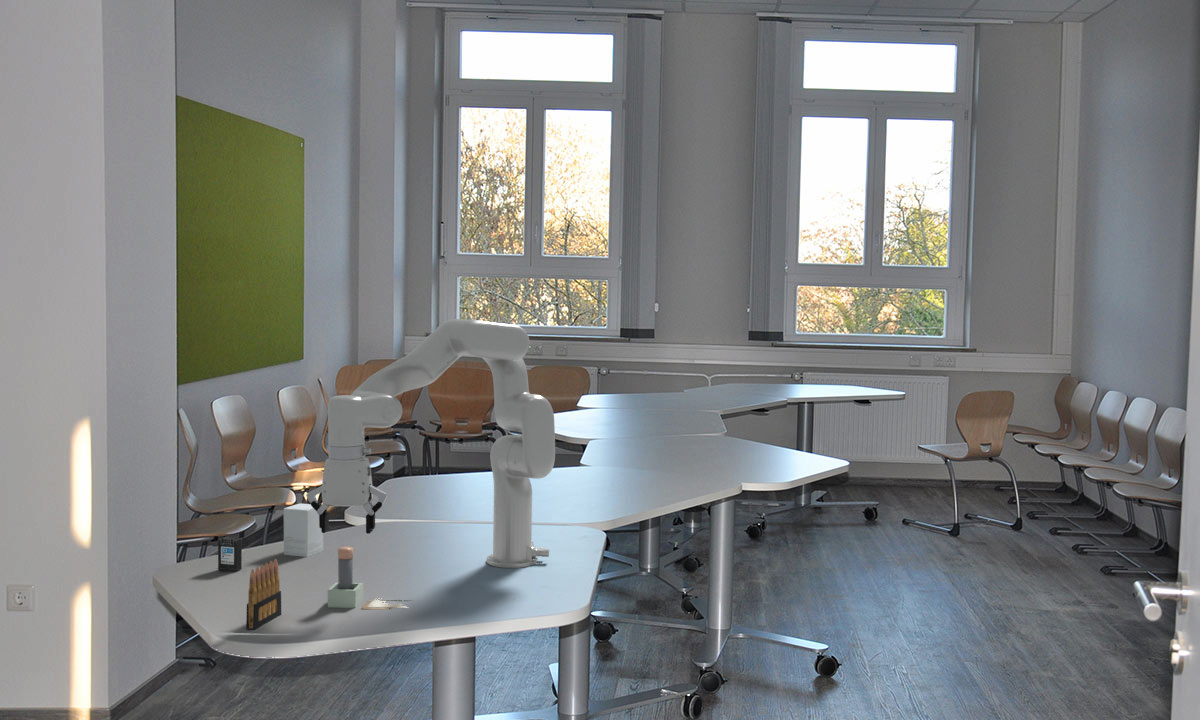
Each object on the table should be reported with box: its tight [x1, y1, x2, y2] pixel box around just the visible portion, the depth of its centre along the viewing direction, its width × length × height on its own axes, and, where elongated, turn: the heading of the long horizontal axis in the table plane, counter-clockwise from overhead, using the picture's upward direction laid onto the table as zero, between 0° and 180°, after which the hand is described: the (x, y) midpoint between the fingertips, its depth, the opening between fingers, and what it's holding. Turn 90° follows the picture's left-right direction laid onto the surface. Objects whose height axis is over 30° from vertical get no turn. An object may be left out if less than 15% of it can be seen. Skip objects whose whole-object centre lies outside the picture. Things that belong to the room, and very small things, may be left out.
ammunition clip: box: [245, 558, 282, 631], centre depth 208 cm, size 11×2×12 cm, turn 168°
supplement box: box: [283, 503, 324, 558], centre depth 263 cm, size 7×7×13 cm
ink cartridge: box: [217, 536, 243, 573], centre depth 247 cm, size 5×2×8 cm, turn 79°
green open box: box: [327, 581, 364, 609], centre depth 221 cm, size 6×6×4 cm
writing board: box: [361, 598, 413, 610], centre depth 222 cm, size 15×12×1 cm
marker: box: [337, 546, 354, 590], centre depth 221 cm, size 3×3×12 cm
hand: (347, 531), depth 220 cm, fingers open, 9 cm apart
